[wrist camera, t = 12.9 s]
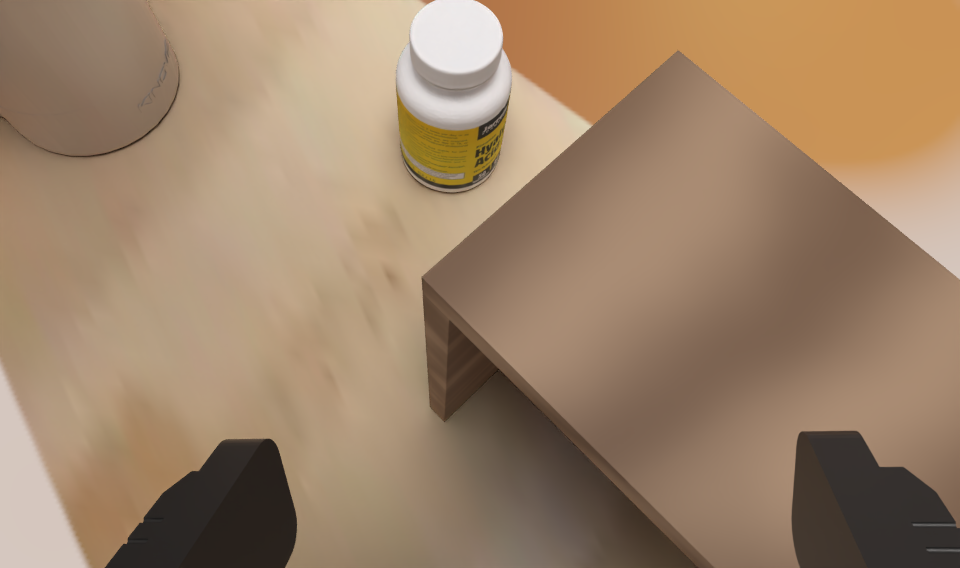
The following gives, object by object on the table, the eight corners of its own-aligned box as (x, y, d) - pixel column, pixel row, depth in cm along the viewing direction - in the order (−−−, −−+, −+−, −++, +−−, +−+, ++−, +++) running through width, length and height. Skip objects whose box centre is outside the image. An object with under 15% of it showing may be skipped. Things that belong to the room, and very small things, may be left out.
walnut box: (430, 406, 35) (421, 277, 18) (570, 273, 38) (678, 50, 21) (846, 840, 30) (1382, 1230, 13) (974, 650, 33) (1555, 765, 16)
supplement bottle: (483, 208, 39) (497, 104, 30) (387, 178, 39) (371, 66, 30) (512, 124, 41) (533, 2, 32) (420, 97, 41) (414, -32, 32)
